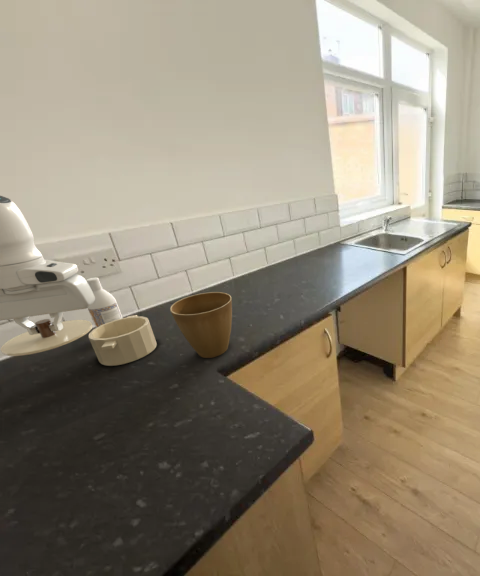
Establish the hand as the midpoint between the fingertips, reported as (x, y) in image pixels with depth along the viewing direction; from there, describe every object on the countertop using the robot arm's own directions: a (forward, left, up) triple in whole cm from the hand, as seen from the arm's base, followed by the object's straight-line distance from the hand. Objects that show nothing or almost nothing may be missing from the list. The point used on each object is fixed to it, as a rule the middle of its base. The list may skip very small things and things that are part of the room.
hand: (47, 331), depth 72 cm
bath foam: (-2, +29, -17) cm, 34 cm away
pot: (+6, +16, -17) cm, 24 cm away
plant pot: (+30, +7, -17) cm, 35 cm away
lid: (0, 0, -2) cm, 2 cm away
